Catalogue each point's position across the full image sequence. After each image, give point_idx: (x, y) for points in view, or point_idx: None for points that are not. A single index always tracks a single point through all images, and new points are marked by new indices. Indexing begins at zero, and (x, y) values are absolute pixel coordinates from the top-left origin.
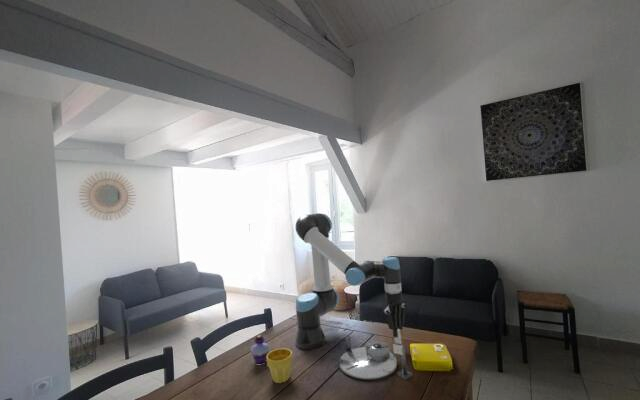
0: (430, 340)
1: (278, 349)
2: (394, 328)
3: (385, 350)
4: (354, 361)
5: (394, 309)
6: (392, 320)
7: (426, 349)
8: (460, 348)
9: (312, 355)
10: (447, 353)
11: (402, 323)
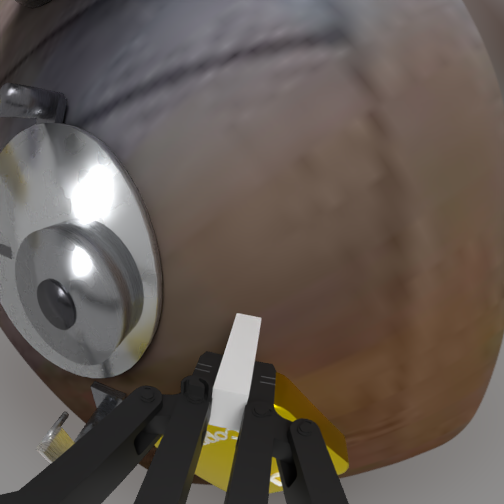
0: (435, 369)
1: None
2: (160, 432)
3: (69, 359)
4: (10, 225)
5: None
6: (113, 490)
7: None
8: (398, 450)
9: (5, 51)
10: (275, 490)
11: (279, 470)
